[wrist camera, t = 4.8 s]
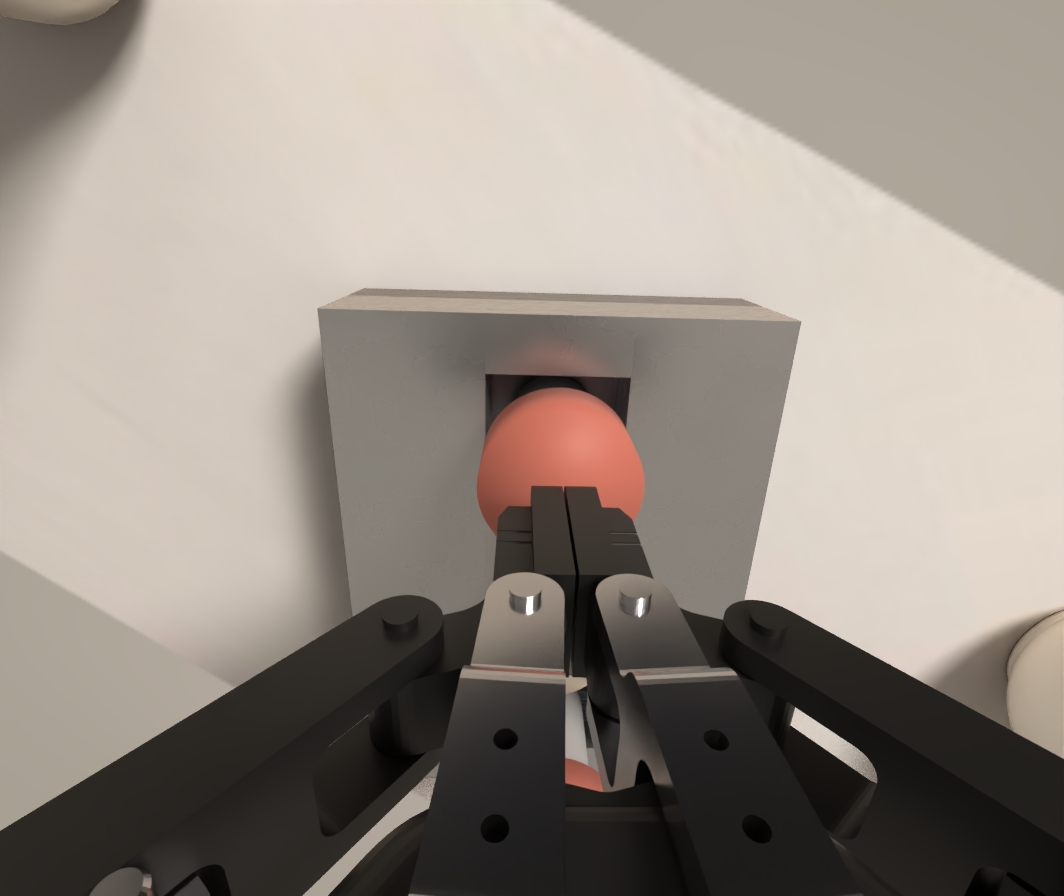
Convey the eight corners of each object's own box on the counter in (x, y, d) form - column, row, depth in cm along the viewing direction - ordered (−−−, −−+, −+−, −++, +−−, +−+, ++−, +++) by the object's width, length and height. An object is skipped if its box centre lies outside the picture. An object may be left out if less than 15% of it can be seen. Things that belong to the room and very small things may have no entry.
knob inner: (490, 469, 21) (477, 559, 16) (490, 353, 20) (475, 407, 14) (607, 472, 21) (636, 562, 16) (618, 357, 20) (653, 412, 14)
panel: (396, 684, 28) (370, 776, 23) (364, 288, 21) (317, 308, 16) (677, 688, 28) (707, 781, 24) (741, 298, 21) (801, 321, 16)
